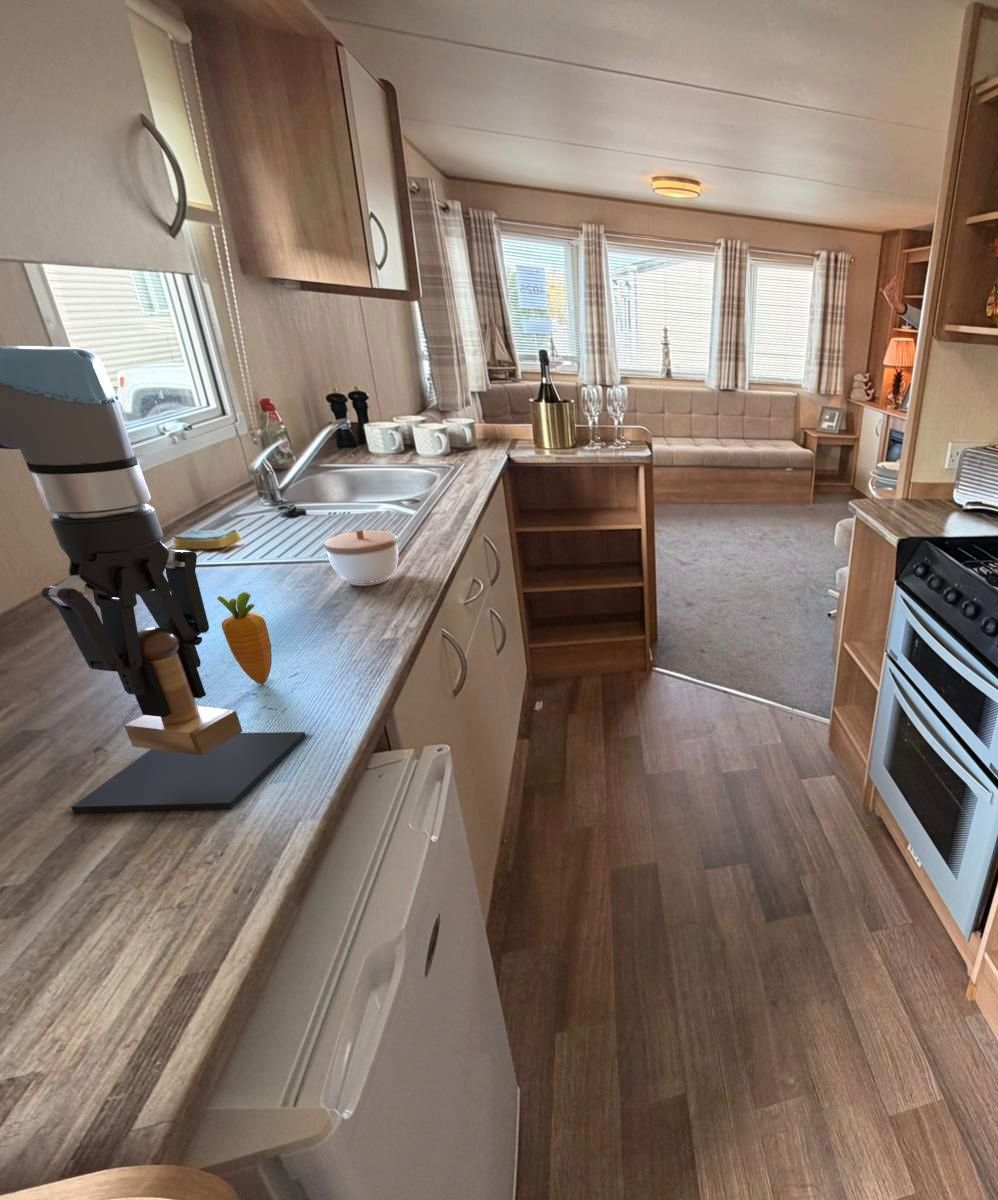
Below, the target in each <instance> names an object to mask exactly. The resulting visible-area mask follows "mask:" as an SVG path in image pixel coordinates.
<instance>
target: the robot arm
mask: <svg viewBox="0 0 998 1200" xmlns="http://www.w3.org/2000/svg"><path fill="white" fill-rule="evenodd" d="M0 449H4V450H19V451H20V453H21V455H22V457H23V460H24V462H25V463H26V467H27V469H28V471H29V472H30V475H31V477H32V479H33V483H34V485H35V487H36V489H37V492H38V494H39V497H40V499H41V502H42V504H43V507H44V508H45V510H46V511H49V512H51V513H53V514H52V515H51V517H50V518H49V523H50V526H51V528H52V530H53V533H54V535H55V538H56V539H57V543H58V545H59V547H60V549H61V550H62V551H63V552H64V553H65V555H67V558H69V567H68V574H69V576H68V577H67V578H66V579H65V580H63V581H62V582H61V583H59V584H57V585H56V586H52V585H50V586H45V587H43V589H42V590H41V596H42V597H43V598H45V599H46V600H47V601H48V602H49V603H50V604H52V605H53V606H54V607H56V608H57V609H58V611H59V613H60V615H61V617H62V619H63V621H64V623H65V624H66V627H67V628H68V631H69V632H70V634H71V636H72V638H73V640H74V641H75V643H76V645H77V647H78V649H79V651H80V653H81V655H82V657H83V658H84V660H85V662H86V664H87V666H88V668H90V669H91V670H97V671H103V672H116V673H117V674H118V677H119V679H120V682H121V684H122V686H123V689H124V691H125V692H126V693H127V694H128V695H134V696H135V699H136V701H137V704H138V707H139V708H140V711H141V715H142V716H143V715H149V716H158V717H166V716H168V715H170V714H171V711H170V709H169V706H168V703H167V701H166V698H165V696H164V693H163V690H162V688H161V685H160V682H159V680H158V677H157V674H156V672H155V669H154V667H153V664H152V663H144V662H142V656H141V650H140V644H139V637H138V632H139V631H138V625H137V620H136V619H137V618H136V614H135V607H136V606H137V605H138V600H137V599H138V598H137V596H139V597H140V598H141V600H142V602H143V603H144V605H145V607H146V608H147V610H148V611H149V613H150V615H151V616H152V618H153V620H154V621H155V623H156V625H157V626H158V628H163V629H167V630H169V631H171V632H172V633H174V634H175V635H176V636H177V638H178V640H179V649H178V654H179V657H180V660H181V662H182V665H183V668H184V671H185V674H186V676H187V679H188V682H189V685H190V688H191V690H192V693H193V696H194V699H202V698H204V697H206V696H207V693H206V691H205V688H204V684H203V682H202V680H201V676H200V673H199V671H198V668H199V667H201V664H202V663H201V662H202V661H201V658H200V656H199V652H198V650H197V647H196V646H199V645H200V644H201V643H202V641H203V637H202V636H200V635H201V634H205V633H207V632H208V631H209V630H210V625H209V621H208V617H207V613H206V609H205V604H204V601H203V597H202V592H201V588H200V585H199V580H198V577H197V573H196V569H197V568H196V567H197V560H198V556H197V555H198V554H197V553H196V552H195V551H192V550H184V549H183V550H181V549H169V548H168V546H166V545H165V544H164V543H163V542H162V539H163V538H164V532H163V530H162V527H161V524H160V521H159V518H158V515H157V512H156V509H155V508H154V507H153V506H151V505H150V504H147V503H148V502H149V501H151V499H152V496H151V493H150V491H149V488H148V485H147V483H146V480H145V476H144V474H143V471H142V468H141V465H140V463H139V462H138V459H137V456H136V454H135V453H134V450H133V447H132V443H131V441H130V437H129V434H128V431H127V427H126V424H125V420H124V417H123V412H122V409H121V406H120V402H119V395H118V393H117V391H116V390H114V388H113V385H112V382H111V381H110V378H109V376H108V372H107V371H106V368H105V366H104V364H103V362H102V360H101V359H100V357H99V356H98V355H97V354H95V353H94V352H92V351H90V350H88V349H85V348H81V347H70V346H43V345H41V346H40V345H0ZM164 571H165V574H166V575H165V574H164ZM86 588H88V589H90V590H92V593H93V594H92V595H93V600H94V604H95V605H96V606H97V607H98V608H99V609H100V615H101V618H100V616H99V614H98V612H97V610H96V608H95V607H94V605H93V603H92V602H91V601H90V600H89V598H90V596H91V594H90V593H88V592H87V591H86Z"/></svg>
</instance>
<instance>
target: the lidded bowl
mask: <svg viewBox="0 0 998 1200" xmlns="http://www.w3.org/2000/svg"><path fill="white" fill-rule="evenodd" d="M323 545H324V549H325V550H326V554H327V557H328V560H329V563H330V566H331V567H332V569H333V571H334V572H335V573H336V574H337V575H338V576H339V577H340V578H342V579H343V580H345V581H347V582H349V581H351V582H349V584H350V585H351V586H357V587H366V586H367V587H369V586H375V585H380V584H382V583H385V582H387V581H388V580H390V577H391V576H392V575H393V573H394V572H395V571H396V569H397V566H398V563H399V546H398V537H397V535H396V534H395V533H394V532H390V531H383V530H363V529H356V530H355V531H351V532H345V533H341V534H338V535H334V536H332V537H330V538H328V539H326V540H325V541H324V543H323ZM388 576H389V577H388ZM386 577H387V578H386ZM384 578H385V579H384ZM380 579H382V580H380ZM376 580H378V581H376ZM370 581H373V582H370ZM355 582H364V583H355Z"/></svg>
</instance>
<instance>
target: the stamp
mask: <svg viewBox="0 0 998 1200" xmlns="http://www.w3.org/2000/svg"><path fill="white" fill-rule="evenodd" d="M138 637H139V644H140V650H141V656H142V662H144V663H152V664H153V667H154V669H155V672H156V674H157V677H158V680H159V682H160V685H161V688H162V690H163V693H164V696H165V698H166V701H167V703H168V706H169V709H170V711H171V714H170V715H168V716H166V717H158V716H149V715H143V714H142V715H141V716H139V717H137V718H134V719H133V720H131V721H129V722H127V723H125V724H124V725H123V726H124V729H125V731H126V733H127V736H128V738H129V741H130V743H131V746H132V748H140V749H146V750H147V749H149V750H151V749H155V750H163V751H171V752H179V753H187V754H195V755H205V754H206V753H208V752H210V751H211V750H213V749H214V748H216V747H218V746H219V745H221V744H223V743H224V742H226V741H228V740H229V739H231V738H232V737H234V736H236V735H237V734H239V733H243V728H242V726H241V722H240V719H239V716H238V712H237V710H234V709H227V708H226V709H225V708H217V707H210V706H202V705H197V702H196V698H194V696H193V693H192V690H191V688H190V685H189V682H188V679H187V676H186V674H185V671H184V668H183V665H182V662H181V660H180V657H179V654H178V649H179V640H178V638H177V636H176V635H175V634H174V633H172V632H171V631H169V630H167V629H163V628H159V627H147V628H144V629H141V630H139V631H138Z"/></svg>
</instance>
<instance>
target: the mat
mask: <svg viewBox="0 0 998 1200" xmlns="http://www.w3.org/2000/svg"><path fill="white" fill-rule="evenodd" d="M306 737H307V735H306V732H305V731H293V732H292V731H286V732H285V731H284V732H282V731H279V732H277V731H276V732H275V731H274V732H241V733H239V734H237V735H236V736H234V737H232V738H231V739H229V740H228V741H226V742H224V743H223V744H221V745H219V746H218V747H216V748H214V749H213V750H211V751H210V752H208V753H206V754H205V755H195V754H187V753H179V752H171V751H163V750H155V749H149V750H147V752H145V753H144V754H142V755H141V756H139V757H138V758H137V759H135V760H134V761H133V762H131V763H130V764H128V765H127V766H126V767H124V768H123V769H121V770H120V771H118V772H117V773H116V774H114V775H113V776H112V777H110V778H109V779H107V780H106V781H105V782H104V783H102V784H100V785H99V786H98V787H97V788H95V789H94V790H92V791H91V792H89V793H88V794H87V795H86V796H84V797H83V798H81V799H80V800H78V801H77V802H76V803H74V804H73V805H72V806H70V809H71V810H72V813H74V814H75V813H108V812H146V811H148V812H149V811H150V812H151V811H182V810H183V811H184V810H185V811H186V810H188V811H189V810H223V809H224V810H225V809H233V808H234V807H235V806H236V805H237V804H238V803H239V802H240V801H242V799H243V798H244V797H245V796H247V794H248V793H249V792H250V791H252V789H254V787H256V786H257V785H258V783H260V782H261V781H262V780H263V779H264V778H265V777H266V776H267V775H268V774H269V773H270V772H271V771H272V770H273V769H275V767H276V766H278V764H280V763H281V762H282V761H283V759H284V758H286V757H287V756H288V755H289V754H290V753H291V752H292V751H293V750H294V749H295V748H296V747H297V746H298V745H299V744H301V743H302V741H304V739H306Z"/></svg>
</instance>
